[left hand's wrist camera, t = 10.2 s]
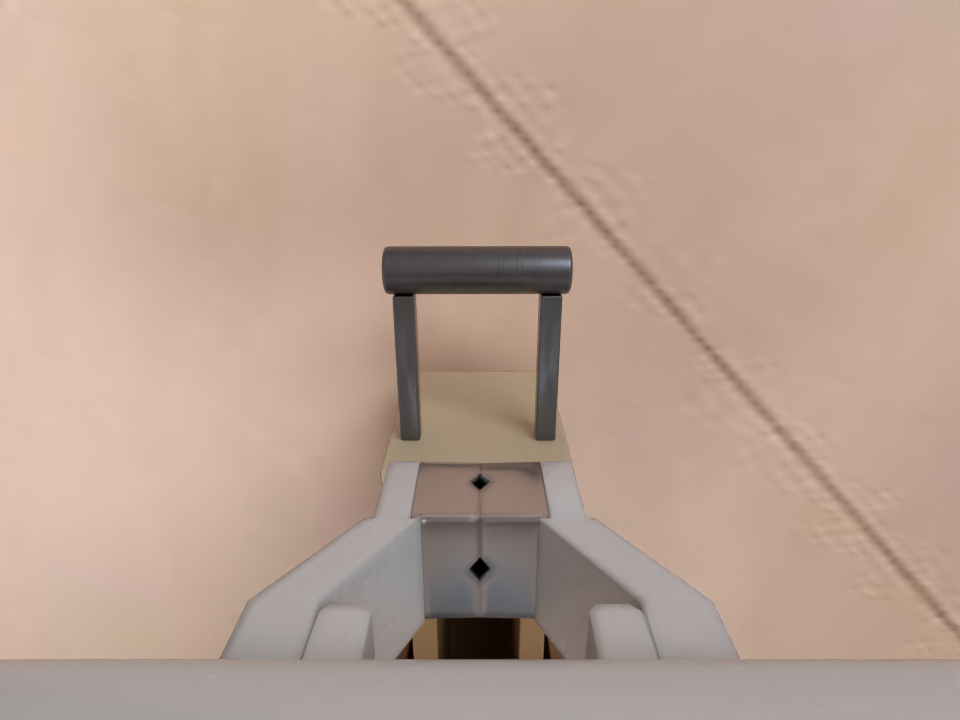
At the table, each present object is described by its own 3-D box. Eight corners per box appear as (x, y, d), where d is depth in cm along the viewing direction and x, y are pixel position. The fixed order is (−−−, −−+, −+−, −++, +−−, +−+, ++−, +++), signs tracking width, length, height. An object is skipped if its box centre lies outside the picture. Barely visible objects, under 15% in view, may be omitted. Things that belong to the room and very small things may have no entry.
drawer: (400, 217, 21) (364, 263, 15) (555, 217, 21) (588, 262, 15) (424, 684, 30) (407, 849, 23) (535, 684, 30) (550, 849, 23)
